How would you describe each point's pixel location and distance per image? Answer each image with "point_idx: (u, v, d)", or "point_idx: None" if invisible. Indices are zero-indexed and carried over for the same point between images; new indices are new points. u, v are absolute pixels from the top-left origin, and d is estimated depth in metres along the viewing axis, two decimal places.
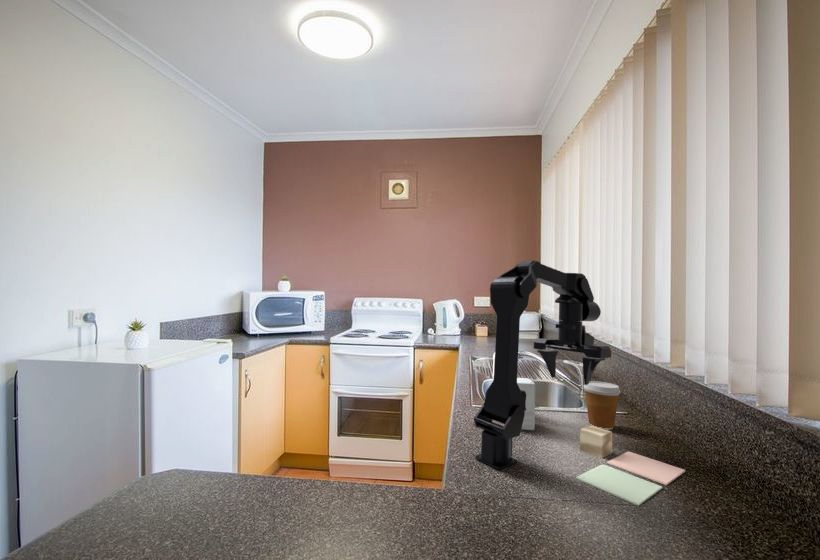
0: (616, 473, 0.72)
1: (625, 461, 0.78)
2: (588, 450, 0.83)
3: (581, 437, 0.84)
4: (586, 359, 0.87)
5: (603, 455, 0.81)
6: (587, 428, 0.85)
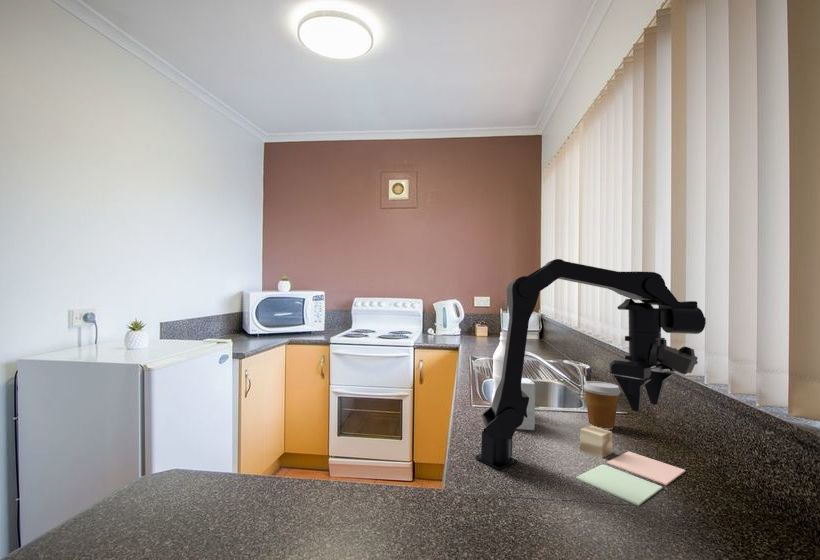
0: (616, 473, 0.72)
1: (625, 461, 0.78)
2: (588, 450, 0.83)
3: (581, 437, 0.84)
4: None
5: (603, 455, 0.81)
6: (587, 428, 0.85)
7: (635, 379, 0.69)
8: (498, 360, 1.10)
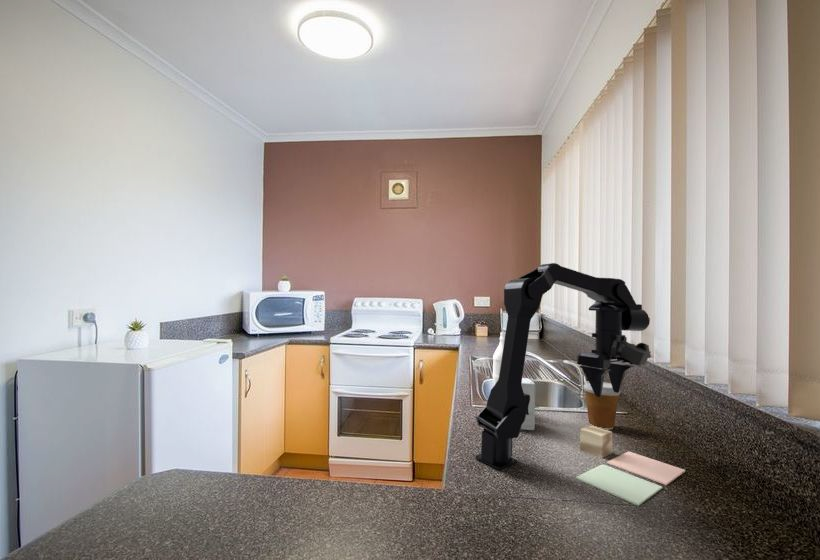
0: (616, 473, 0.72)
1: (625, 461, 0.78)
2: (588, 450, 0.83)
3: (581, 437, 0.84)
4: None
5: (603, 455, 0.81)
6: (587, 428, 0.85)
7: (597, 369, 0.81)
8: (498, 360, 1.10)
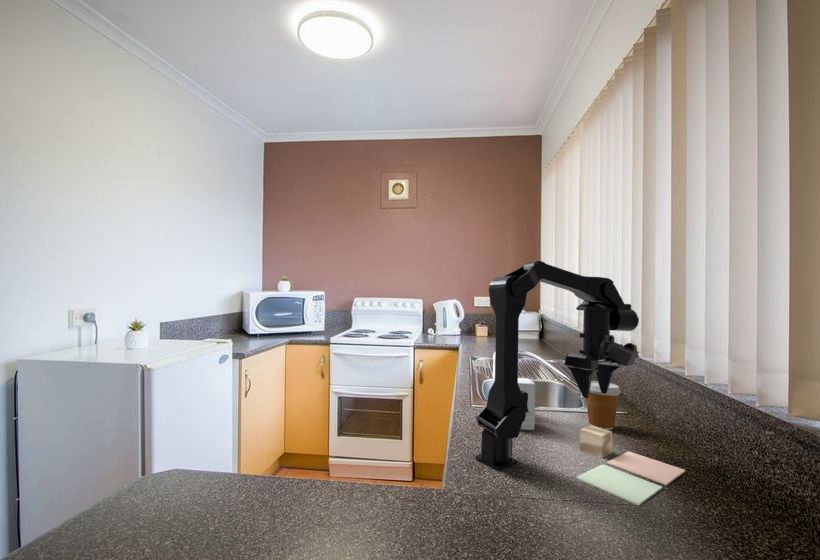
0: (616, 473, 0.72)
1: (625, 461, 0.78)
2: (588, 450, 0.83)
3: (581, 437, 0.84)
4: None
5: (603, 455, 0.81)
6: (587, 428, 0.85)
7: (584, 370, 0.80)
8: None
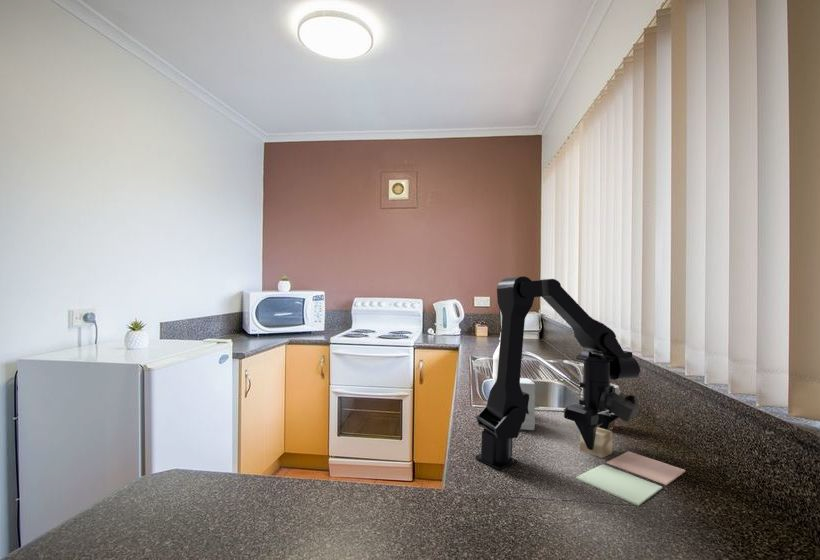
0: (616, 473, 0.72)
1: (625, 461, 0.78)
2: (588, 450, 0.83)
3: (581, 437, 0.84)
4: None
5: (603, 455, 0.81)
6: None
7: None
8: (498, 360, 1.10)
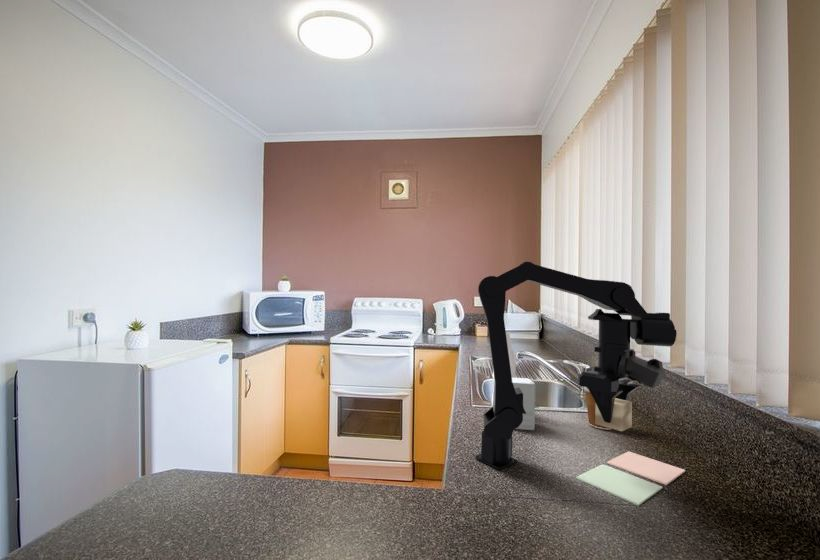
0: (616, 473, 0.72)
1: (625, 461, 0.78)
2: (605, 423, 0.71)
3: (597, 408, 0.73)
4: None
5: (623, 428, 0.70)
6: None
7: None
8: None
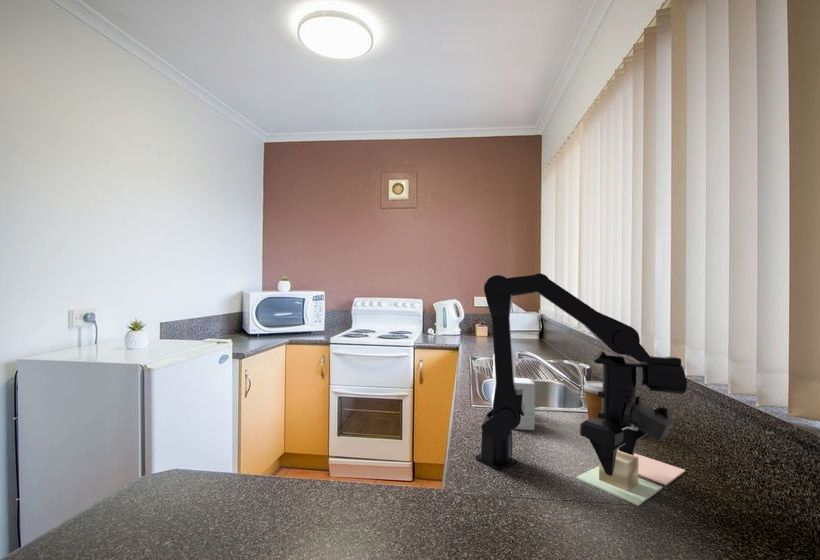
0: None
1: None
2: (609, 480, 0.67)
3: (600, 463, 0.69)
4: None
5: (629, 487, 0.66)
6: None
7: (608, 443, 0.64)
8: None
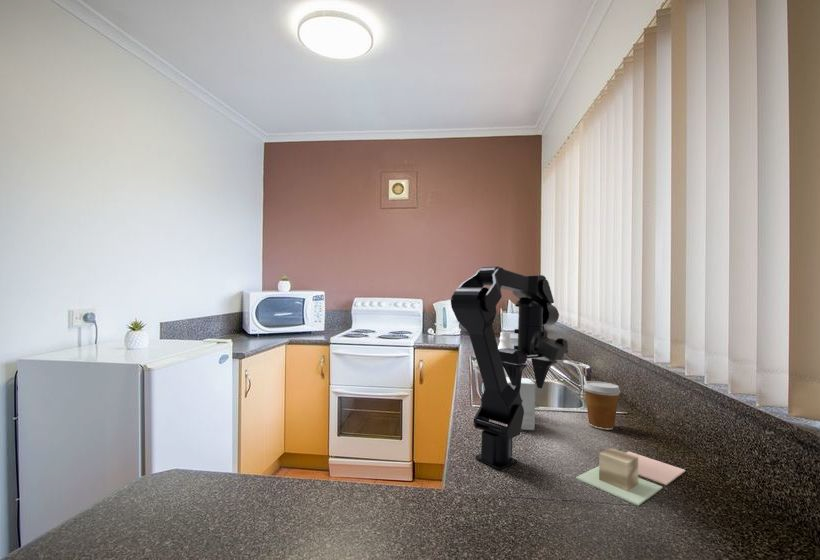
0: None
1: None
2: (609, 480, 0.67)
3: (600, 463, 0.69)
4: None
5: (629, 487, 0.66)
6: (607, 452, 0.70)
7: (513, 365, 0.81)
8: None
